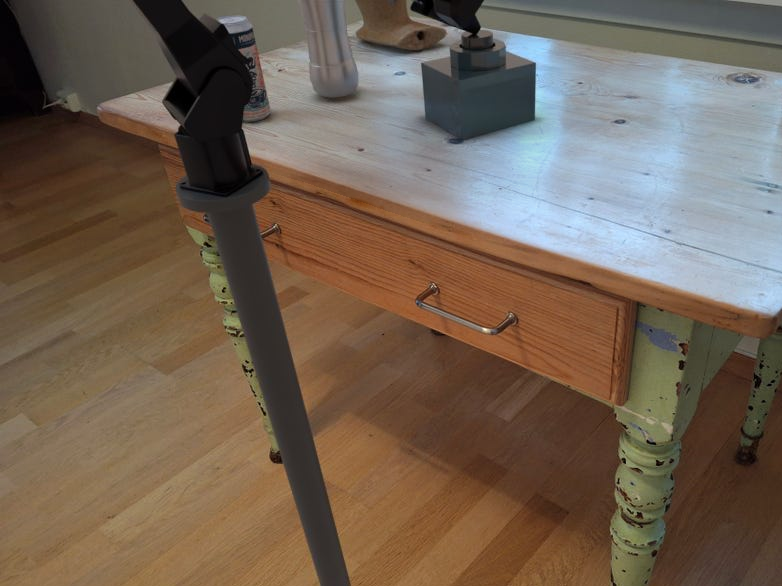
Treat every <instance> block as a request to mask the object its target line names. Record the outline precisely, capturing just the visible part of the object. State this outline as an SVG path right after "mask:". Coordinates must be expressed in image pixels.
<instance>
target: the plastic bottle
mask: <svg viewBox="0 0 782 586" xmlns="http://www.w3.org/2000/svg"><path fill="white" fill-rule="evenodd" d="M297 3H298V5H299V9H300V12H301V16H302V21H303V25H304V26H305V27H304V30H305V34H306V39H307V49H308V58H309V62H308V72H309V81H310V83H311V85H312V89H313V90H314V92H315V93H316V94H317V95H318V96H320V97H323V98H341V97H347V96H350V95H352V94H354V93H356V91H357V89H358V87H359V70H358V67H357V64H356V62H355V61H356V60H355V58H354V56H353V51H352V48H351V43H350V39H349V34H348V27H347V26H348V25H347V23H346V22H347V18H346V17H347V16H346V0H297Z"/></svg>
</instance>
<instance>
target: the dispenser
mask: <svg viewBox="0 0 782 586" xmlns="http://www.w3.org/2000/svg"><path fill="white" fill-rule="evenodd" d="M420 67H421V80H422V94H423V104H424V117H425V120H427V121H428V122H430V123H432V124H434V125H436V126H437V127H439V128H440V129H442V130H444V131H445V132H447V133H449V134H451V135H453V136H454V137H456V138H457V139H460V140H462V141H463V140H467V139H470V138H474V137H477V136H481V135H485V134H489V133H493V132H495V131H500V130H503V129H506V128H510V127H513V126H517V125H521V124H525V123H528V122H532V121H535V120H536V91H537V90H536V89H537V87H536V85H537V84H536V83H537V80H536V79H537V62H535V61H533V60H530V59H528V58H525V57H523V56H520V55H517V54H516V53H512V52H510V51H507V46H506V42H505V41H503V40H500V39H497V38H493V48H491V49H486V50H477V51H473V50H464V49H462V42H461V39H458V40H456V41H454V42H452V43H450V44H449V56H446V57H445V56H444V57H441V58H436V59H432V60H427V61H422V62H420Z"/></svg>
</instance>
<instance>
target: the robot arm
mask: <svg viewBox="0 0 782 586" xmlns="http://www.w3.org/2000/svg"><path fill="white" fill-rule="evenodd" d="M128 1H129V2H130V3H131V5H132V6H133V8H135V10H136V11H137V12H138V13H139V15H140V16H141V17H142V19H143V20H144V21H145V23H146V24H147V25H148V26H149V28H150V30H151V31H152V33H153V35H154V37H155V39H156V41H157V43H158V45H159V48H160V49H161V51H162V53H163V55H164V57H165V59H166V61H167V62H168V64H169V66H170V68H171V69H172V71H173V74H174V75H175V76H176V77H175V78H174V79H173V81H172V83H171V85H170V86H169V88H168V90H167V91H166V93H165V95H164V97H163V99H162V100H161V103H162V105H163V107H164V108H165V109H166V111H167V112H168V113H169V115H170V116H171V118H173V120H174V121H176V122H177V123H178V124H179V126H178V128H177V131H176V132H174V133H173V136H174V139H175V142H176V146H177V149H178V153H179V155H180V159H181V161H182V165H183V168H184V170H185V174H186V175H187V178H188V179H186V180H184V181H183V182H181V183H179V187H180V189H184V190H189V191H194V192H199V193H204V194H209V195H214V196H219V197H228V196H230V195H231V194H233V193H235V192H236V191H238V190H239V189H241V188H242V187H244V186H246V185H247V184H249V183H250V182H252V181H253V180H255V179H257V178H258V177H260V176H261V175H263V170H262V169H259V168H253V167H251V165H252V164H253V163H252V158H251V155H250V150H249V147H248V143H247V138H246V134H245V131H244V129H243V122H244V121H243V113H244V107H245V106H246V105H247V104H248V102H249V100H250V98H251V96H252V90H253V85H254V82H253V78H252V76H251V74H250V72H249V70H248V68H247V67H246V66H245V64H250V63H251V60H250V59H248V58H247V57H245V56H244V55H243V54H242V53H241V52H240V51H239V50H238V49H237V47H236V45H235V44H234V42H233V40H232V37H231V35H230V33H229V32H228V30H227V28H226V27H225V25H224V24H222V23H221V22H219V21H218V20H216V19H217V18H215V17H213V16H211V15H210V14H208V13H206V12H203V14H202V15H201V16H200V17H199V18H198V17H196V15H194V13H192V11H190V10H189V8H188V6H186V4H185V3H184V1H183V0H128ZM387 1H390V2H392V3H396V2H397V0H387ZM484 1H485V0H411V2H412V3H411V5H410V6H409V9H410V11H411V12H413V13H416V14H417V15H421V16H423V17H426V18H429V19H432V20H434V21H437V22H440V23H442V24H445V25H448V26H449V27H450V26H451V27H453V28H456V29H459V30H461V31H463V32H469V33H472V34H475V35H477V34H478V32H479V30H482V26H481V23H480V21H479V19H478V17H477V13H478V11H479V9H480V8H481V6H482V4H483V3H484ZM186 175H185V176H186Z"/></svg>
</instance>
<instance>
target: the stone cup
mask: <svg viewBox="0 0 782 586" xmlns="http://www.w3.org/2000/svg"><path fill="white" fill-rule="evenodd" d="M354 2H355V4H356V5H357V7H358V9H359V11H360V14H361V16H362V21H363V25H362V26H361V27H360V28H358V29H357V30H356V31H355V36H356V38H357V39H358V40H362V41H364V42H368V43H372V44H375V45H380V46H385V47H391V48H397V49H403V50H409V51H420V50H424V49H428V48H429V47H432V46H435V44H438V43H439V42H440V41H442V40H443V39H444V38H446V36H447V35H448V32H447V30H446V29H445V28H443V27H439V26H435V25H430V24H427V23H423V22H420V21H419V22H418V21H416V20H413V19H411V17H410V15H409V12H408V7H407V6H408V5H407V0H397V2H396V3H392V2H390V1H387V0H354Z"/></svg>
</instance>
